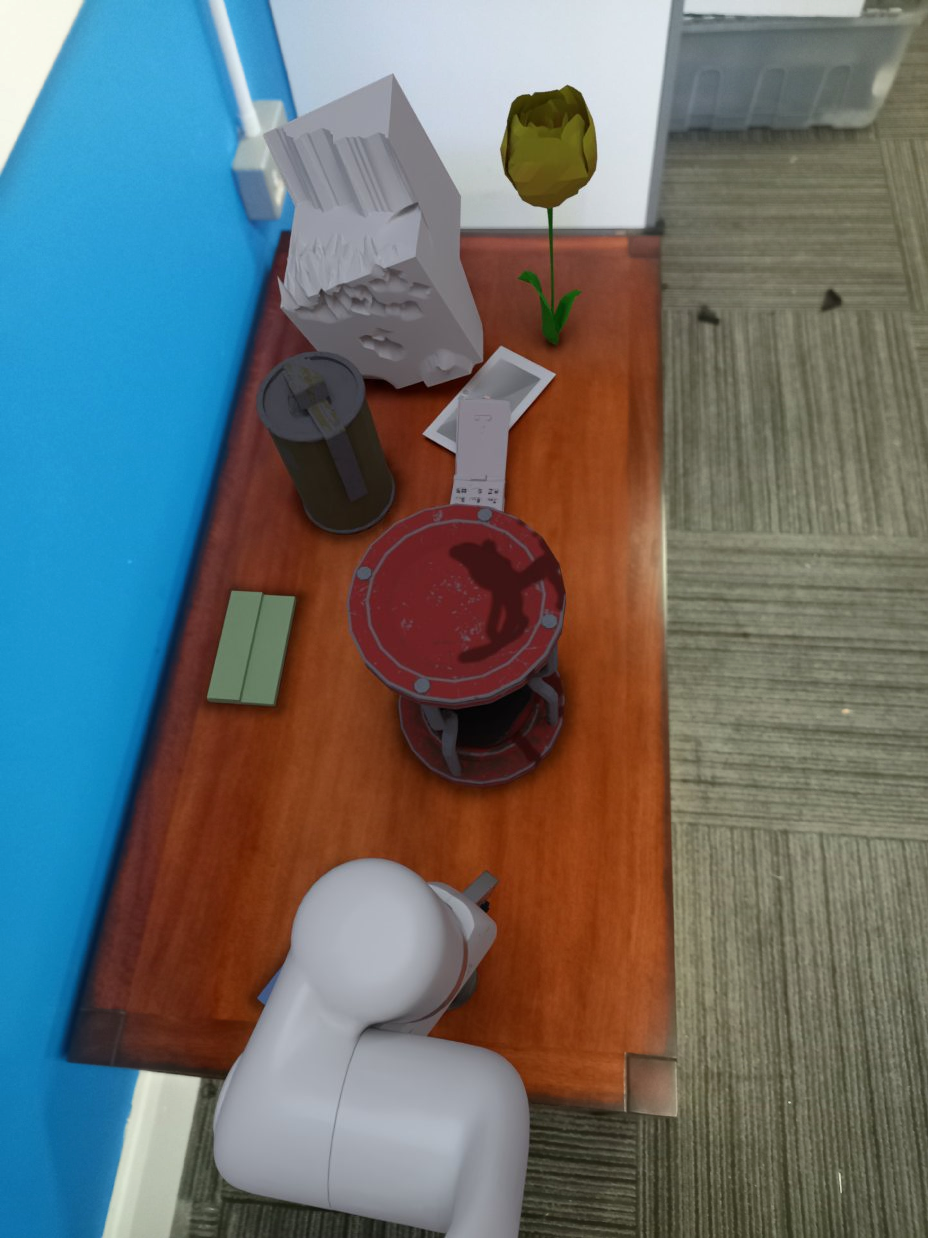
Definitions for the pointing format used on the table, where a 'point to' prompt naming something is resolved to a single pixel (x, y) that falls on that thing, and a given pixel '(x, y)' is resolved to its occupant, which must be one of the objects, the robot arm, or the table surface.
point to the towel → (252, 649)
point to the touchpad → (494, 391)
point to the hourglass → (465, 638)
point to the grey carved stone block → (376, 240)
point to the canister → (327, 440)
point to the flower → (549, 169)
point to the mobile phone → (481, 452)
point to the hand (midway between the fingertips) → (440, 970)
